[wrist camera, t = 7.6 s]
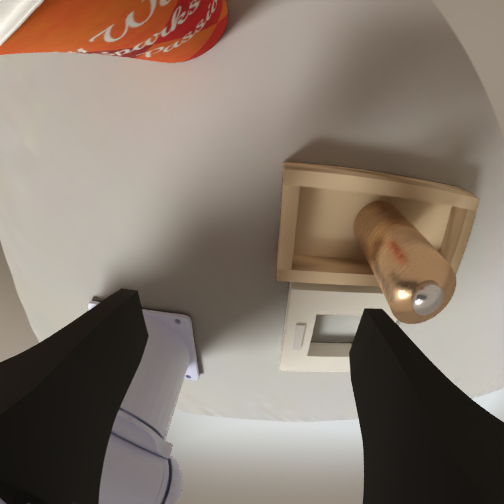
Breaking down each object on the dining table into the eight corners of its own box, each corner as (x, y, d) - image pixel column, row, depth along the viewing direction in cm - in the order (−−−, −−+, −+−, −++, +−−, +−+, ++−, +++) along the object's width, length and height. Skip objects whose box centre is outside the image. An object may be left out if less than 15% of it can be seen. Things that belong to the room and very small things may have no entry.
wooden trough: (276, 261, 18) (275, 281, 16) (283, 161, 15) (284, 169, 13) (437, 271, 18) (450, 288, 16) (461, 187, 15) (479, 198, 13)
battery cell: (349, 247, 17) (383, 332, 10) (358, 198, 16) (408, 264, 9) (394, 251, 17) (443, 330, 10) (405, 204, 15) (471, 268, 9)
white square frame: (279, 356, 23) (279, 375, 21) (290, 275, 19) (291, 294, 17) (370, 357, 22) (375, 375, 20) (400, 281, 18) (409, 298, 17)
